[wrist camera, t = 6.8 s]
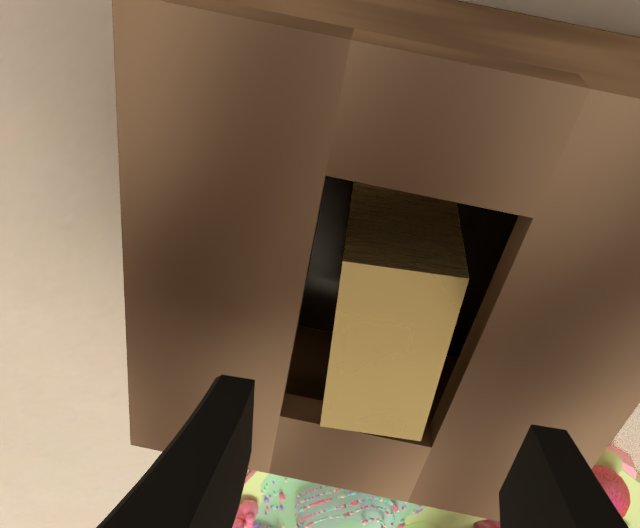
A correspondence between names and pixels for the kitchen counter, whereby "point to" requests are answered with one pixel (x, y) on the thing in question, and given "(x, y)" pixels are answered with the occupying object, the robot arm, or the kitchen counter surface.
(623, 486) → the candy landscape model
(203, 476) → the robot arm
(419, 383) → the wooden block
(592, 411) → the coin box
